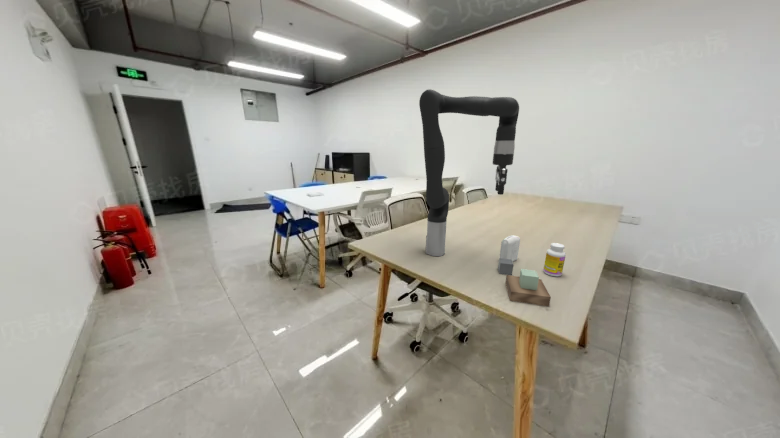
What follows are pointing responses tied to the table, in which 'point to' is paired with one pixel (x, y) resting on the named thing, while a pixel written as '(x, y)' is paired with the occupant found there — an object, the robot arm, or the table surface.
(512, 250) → the photo printer
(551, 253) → the supplement bottle
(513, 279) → the walnut block
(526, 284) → the sage cube
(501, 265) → the charcoal cube
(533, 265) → the table surface
